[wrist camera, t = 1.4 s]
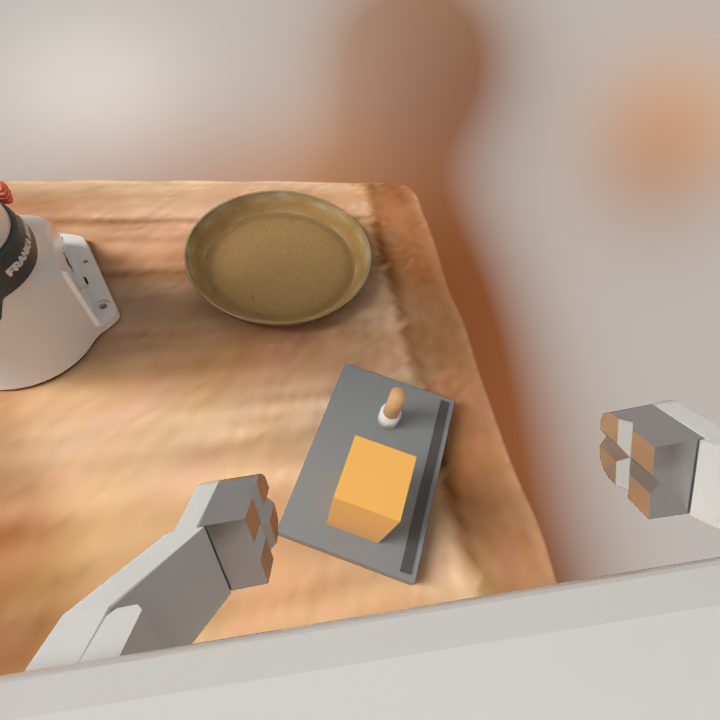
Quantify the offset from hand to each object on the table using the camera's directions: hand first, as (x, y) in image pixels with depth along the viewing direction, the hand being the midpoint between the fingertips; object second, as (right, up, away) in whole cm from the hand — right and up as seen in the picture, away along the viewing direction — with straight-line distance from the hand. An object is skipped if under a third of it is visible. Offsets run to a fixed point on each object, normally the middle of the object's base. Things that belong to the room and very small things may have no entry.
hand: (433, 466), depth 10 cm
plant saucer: (-13, +15, +47) cm, 51 cm away
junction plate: (0, -8, +33) cm, 34 cm away
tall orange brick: (-2, -11, +29) cm, 31 cm away
